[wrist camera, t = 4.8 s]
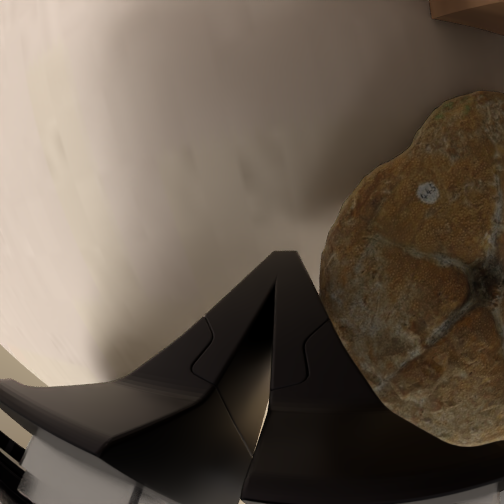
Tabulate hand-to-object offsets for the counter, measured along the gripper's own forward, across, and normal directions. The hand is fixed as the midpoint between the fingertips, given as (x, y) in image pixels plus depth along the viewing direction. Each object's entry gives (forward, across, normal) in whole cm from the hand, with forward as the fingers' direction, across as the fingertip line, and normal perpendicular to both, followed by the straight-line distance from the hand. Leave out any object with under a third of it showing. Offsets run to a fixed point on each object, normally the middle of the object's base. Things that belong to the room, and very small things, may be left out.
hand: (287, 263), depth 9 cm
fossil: (+2, -6, -1) cm, 6 cm away
